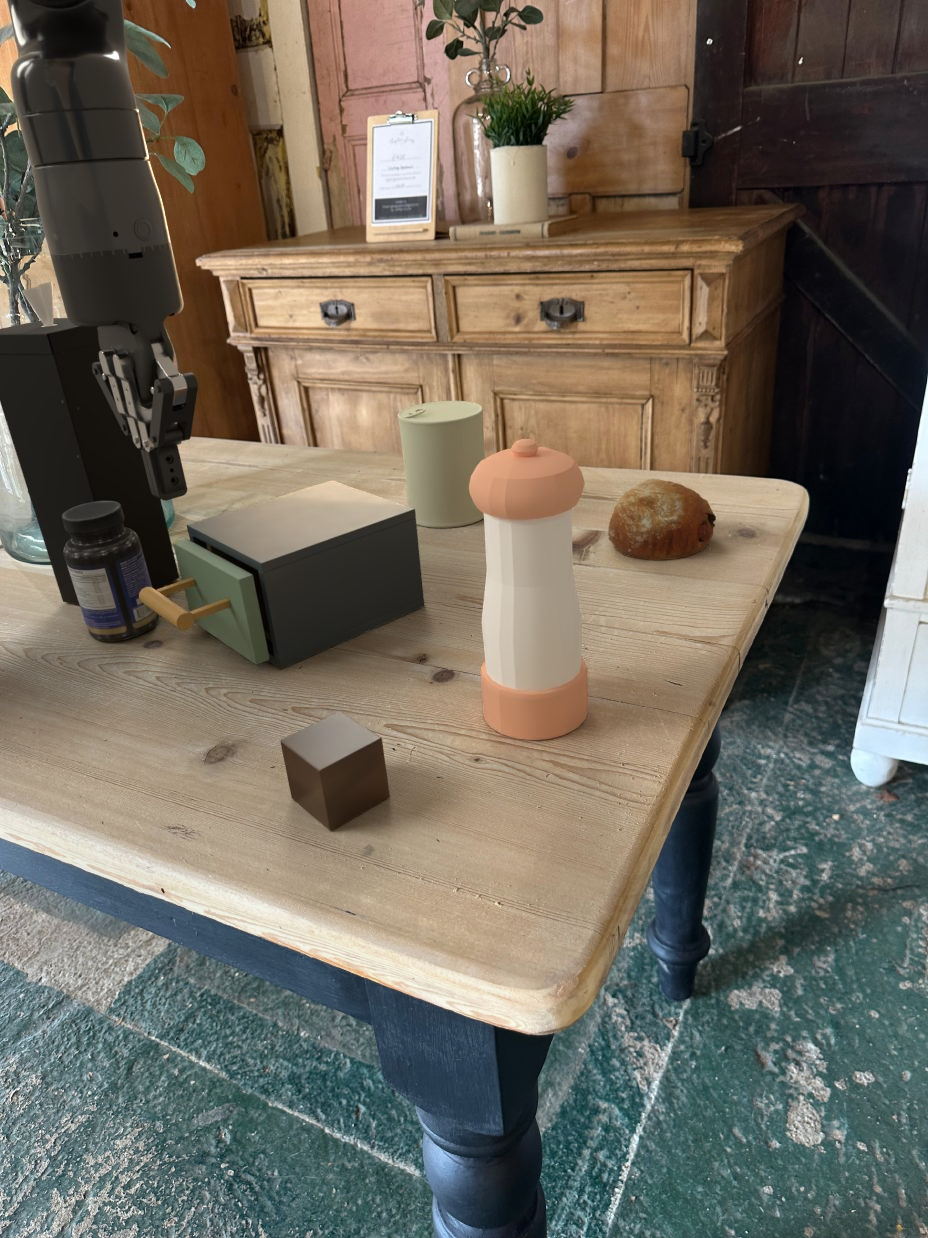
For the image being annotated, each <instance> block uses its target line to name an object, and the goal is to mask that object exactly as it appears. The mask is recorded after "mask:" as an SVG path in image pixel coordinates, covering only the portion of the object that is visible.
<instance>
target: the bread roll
mask: <svg viewBox="0 0 928 1238" xmlns="http://www.w3.org/2000/svg"><path fill="white" fill-rule="evenodd" d="M716 520H717V516H716V515H715V513H714V512H713V509H712V507H711V506H710V503H709V500H707V499H705V498H703V497H702V496H701V495H700V494H699V492H696V491H695V490H693V489H691V488H689V487H687V486H685V485H683V484H682V483H678V482H673V481H670V480H663V479H658V478H648V479H644V480H642V481H640V482H637V483H636V484H634V485H632V486H631V487H629V488H628V489H627V490H625V491H624V492H623V494H622V495H620V497H619V499H618V501H617V502H616V503H615V505H614V507H613V511H612V515H611V517H610V519H609V523H608V529H607V530H608V533H607V536H608V540H609V541H610V542H611V544H612V546H613V548H614V549H615V550H616V551H617V552H619V553H620V554H622V555H624V556H627V557H631V558H632V557H633V558H636V559H643V560H650V561H651V560H652V561H659V560H661V561H662V560H669V559H670V560H671V559H679V558H685V557H689V556H693V555H696V554H697V553H700V552H702V551H703V550H704V549H705V548H706V547H707V545H708V544H709V543H710V542H711V540H712V537H713V534H714V528H715V527H716V524H715V522H716Z"/></svg>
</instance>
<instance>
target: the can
mask: <svg viewBox="0 0 928 1238" xmlns="http://www.w3.org/2000/svg"><path fill="white" fill-rule="evenodd" d="M397 419H398V424H399V432H400V441H401V450H402V459H403V469H404V477H405V487H406V499H407V506H408V507H411V508H414V509H415V513H416V524H417V526H419V527H424V528H425V527H426V528H432V529H449V528H459V527H464V526H468V525H472V524H475V523H477V522H479V521H481V520H484V513H483V512H481V511H480V510H479V509H478V508H477V507H476V506H475V504H474V502H473V500H472V498H471V495H470V492H469V483H470V478H471V475H472V473H473V472H474V470H475V468H476V467H477V465H478V464H479V463H480V461H482V460H484V459H485V458H486V451H485V433H484V407H483V406H482V405H481V404H479V403H476V402H473V401H465V400H439V401H432V402H431V401H429V402H424V403H418V404H414V405H411V406H408V407H406V408H403V409H402V410H400V411H399V412H398V413H397Z"/></svg>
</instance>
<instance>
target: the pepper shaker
mask: <svg viewBox="0 0 928 1238" xmlns="http://www.w3.org/2000/svg"><path fill="white" fill-rule="evenodd" d="M585 484H586V482H585V478H584V475H583V472H582V470H581V468H580V467H579V465H578V464H577V462H576V461H575V459H574V458H573V456H570V455H569V454H566V453H564V452H561V451H558V450H556V449H553V448H549V447H544V446H539V445H538V444H537V442H536V441H535V440H533V439H530V438H521V439H518V440H516V441H514V442H513V444H512V446H511V448H506V449H503V450H500V451H497V452H495V453H493V454H492V455H489V456H487V457H485V459H484V460H482V461H480V463H479V464H478V465H477V467H476V468H475V470H474V472H473V473H472V475H471V478H470V483H469V492H470V495H471V498H472V500H473V502H474V504H475V506H476V507H477V508H478V509H479V510H480V511H481V512H483V513H484V518H483V524H484V540H485V542H484V544H485V559H486V560H485V562H486V563H485V564H486V574H485V582H484V583H485V584H484V593H483V602H482V603H483V606H482V614H481V631H482V641H483V649H484V650H483V652H484V661H483V662H482V664H481V667H480V669H479V672H480V687H481V700H482V711H483V712H482V713H483V719H484V720H485V722H486V723H487V725H488V726H489V727H490V728H491V729H493V730H494V731H496V732H498V733H499V734H500V735H504V736H507V737H510V738H513V739H516V740H526V741H541V740H542V741H543V740H551V739H555V738H558V737H562V736H565V735H567V734H569V733H571V732H572V731H575V730H576V729H578V728H579V727H580V726H581V725H582V724H583V722H584V721H585V720H586V719H587V715H588V710H589V694H588V693H589V692H588V691H589V690H588V689H589V688H588V687H589V684H588V683H589V682H588V680H589V679H588V673H589V672H588V667H587V664H586V660H585V659H584V657H582V656H583V654H582V653H583V617H582V611H581V605H580V599H579V594H578V589H577V585H576V584H577V583H576V579H575V571H574V561H573V560H574V559H573V558H574V557H573V515H572V513H573V512H572V509H573V508H575V506H577V504H578V502H579V501H580V498H581V496H582V493H583V492H584V488H585Z"/></svg>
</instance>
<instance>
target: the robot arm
mask: <svg viewBox="0 0 928 1238" xmlns="http://www.w3.org/2000/svg"><path fill="white" fill-rule="evenodd" d="M6 3H7V6H8V11H9V17H10V20H11V26H12V31H13V35H14V40H15V44H16V49H17V59H16V60H15V61H14V63H13V64H12V66H11V70H10V76H9V77H10V86H11V94H12V95H11V96H12V100H13V104H14V108H15V112H16V116H17V118H18V119H17V120H18V123H19V128H20V131H21V134H22V135H21V136H22V138H23V142H24V146H25V150H26V152H27V157H28V161H29V164H30V167H31V172H32V173H31V174H32V177H33V182H34V189H35V190H34V191H35V198H36V204H37V210H38V215H39V219H40V222H41V225H42V229H43V232H44V236H45V237H44V238H45V241H46V244H47V248H48V251H49V255H50V259H51V262H52V267H53V271H54V273H55V277H56V281H57V284H58V289H59V292H60V296H61V300H62V303H63V304H62V305H63V307H64V311H65V315H66V318H68V320H69V321H70V322H71V323H73V324H75V325H78V326H86V327H97V329H98V339H99V346H100V349H101V351H100V352H99V359H100V362H95V363H93V364H92V371H93V373H94V375H95V377H96V379H97V381H98V383H99V385H100V387H101V389H102V391H103V393H104V395H105V397H106V399H107V401H108V403H109V405H110V407H111V409H112V411H113V413H114V415H115V417H116V419H117V421H118V422H119V424H120V426H121V429H122V431H123V432H124V434H125V435H126V436H128V435H132V437H133V442H134V444H135V445H136V447H137V448H142V449H141V454H142V458H143V462H144V466H145V470H146V474H147V478H148V482H149V486H150V490H151V493H152V495H153V496H155V497H157V498H159V499H161V501H165V502H166V501H170V500H174V499H176V498H180V497H183V496H185V495H186V494H187V492H188V485H187V481H186V476H185V472H184V468H183V463H182V459H181V454H180V450H179V446H180V445H181V444H182V442H186V441H190V440H191V438H192V432H193V431H192V430H193V423H194V417H195V411H196V405H197V404H196V403H197V397H198V389H199V384H198V379H197V377H196V375H195V374H194V373H193V372H186V373H181V372H180V371H179V370H178V369H179V364H178V359H177V354H176V351H175V348H174V345H173V343H172V340H171V338H170V336H169V333H168V330H167V328H166V326H165V321H166V320H167V318H168V317H173V316H176V315H178V314H180V313H181V312H182V311H183V309H184V306H185V305H184V304H185V303H184V298H183V293H182V290H181V285H180V280H179V276H178V270H177V266H176V261H175V256H174V251H173V246H172V242H171V237H170V232H169V228H168V223H167V222H168V221H167V218H166V213H165V208H164V204H163V200H162V197H161V193H160V190H159V187H158V184H157V182H156V178H155V175H154V172H153V168H152V165H151V161H150V160H149V158H150V156H149V152H148V147H147V143H146V137H145V134H144V133H145V132H144V128H143V124H142V119H141V114H140V112H139V111H140V109H139V106H138V101H137V97H136V93H135V91H134V87H133V84H132V80H131V76H130V69H129V61H128V48H127V47H128V45H127V37H126V36H127V35H126V27H125V25H126V24H125V16H124V5H123V0H6Z"/></svg>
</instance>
